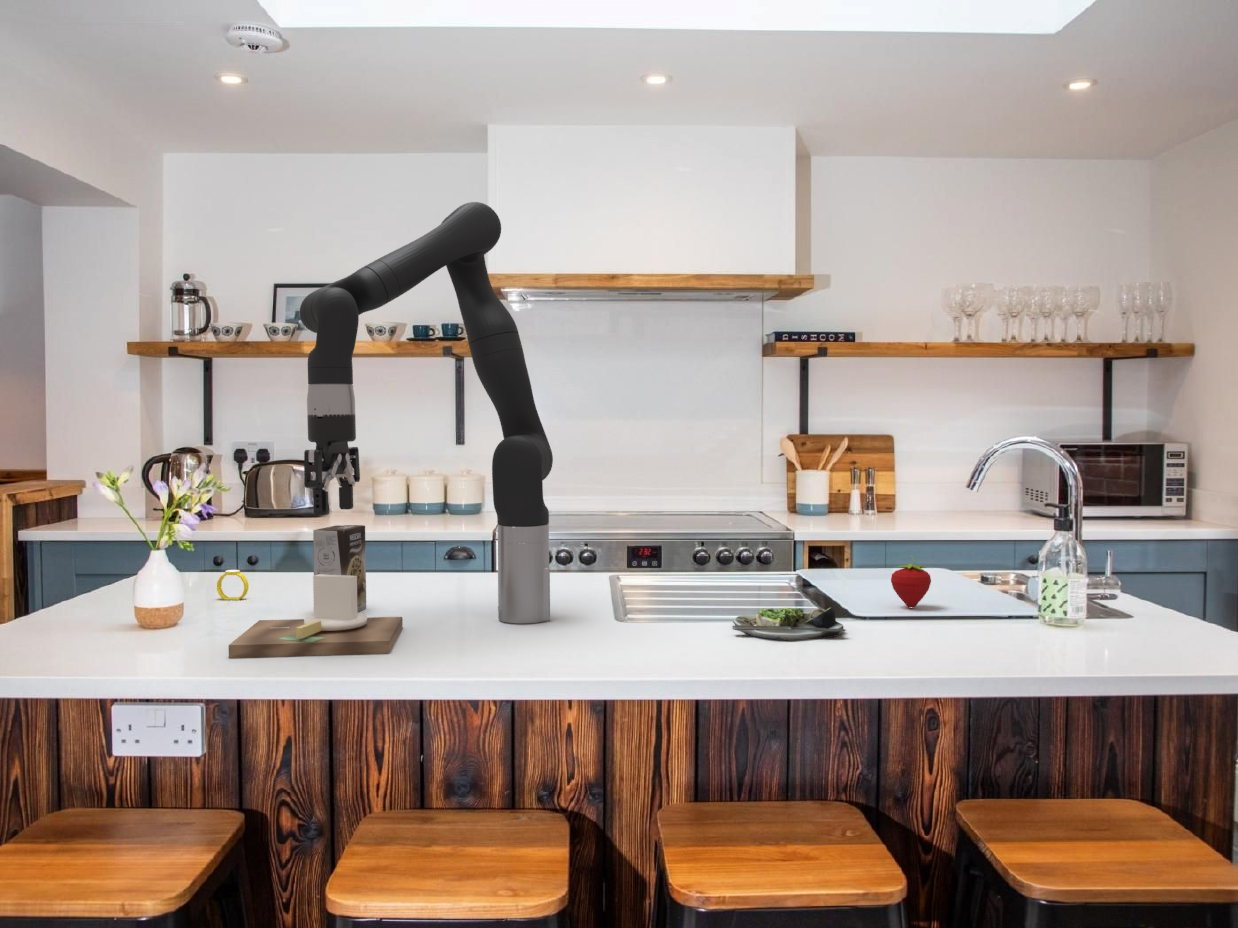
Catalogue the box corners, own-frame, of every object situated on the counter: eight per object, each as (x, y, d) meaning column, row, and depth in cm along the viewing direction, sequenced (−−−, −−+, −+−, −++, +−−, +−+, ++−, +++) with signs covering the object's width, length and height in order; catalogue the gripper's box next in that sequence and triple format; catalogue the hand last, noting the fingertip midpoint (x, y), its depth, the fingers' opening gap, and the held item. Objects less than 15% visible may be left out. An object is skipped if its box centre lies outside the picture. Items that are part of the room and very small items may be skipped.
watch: (249, 599, 197) (251, 570, 197) (243, 602, 194) (245, 572, 194) (220, 597, 197) (222, 568, 197) (214, 600, 194) (215, 570, 194)
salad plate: (754, 649, 154) (754, 620, 154) (708, 626, 171) (708, 600, 171) (860, 640, 161) (860, 612, 160) (806, 618, 178) (806, 593, 177)
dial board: (402, 628, 169) (402, 616, 169) (389, 653, 151) (389, 640, 151) (259, 631, 166) (259, 619, 166) (228, 658, 148) (228, 644, 148)
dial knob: (326, 616, 167) (325, 569, 166) (378, 619, 164) (377, 572, 164) (270, 636, 152) (269, 585, 152) (327, 640, 149) (326, 588, 149)
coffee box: (345, 618, 177) (343, 530, 176) (313, 616, 179) (311, 529, 178) (368, 608, 186) (366, 524, 185) (337, 607, 187) (335, 523, 187)
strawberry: (885, 605, 187) (886, 553, 187) (923, 604, 188) (924, 553, 187) (896, 611, 182) (897, 558, 181) (936, 610, 182) (936, 557, 182)
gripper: (331, 413, 166) (333, 507, 167) (287, 413, 152) (290, 516, 153) (372, 412, 165) (374, 507, 166) (331, 412, 151) (334, 516, 152)
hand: (334, 511), depth 159 cm, fingers open, 8 cm apart
